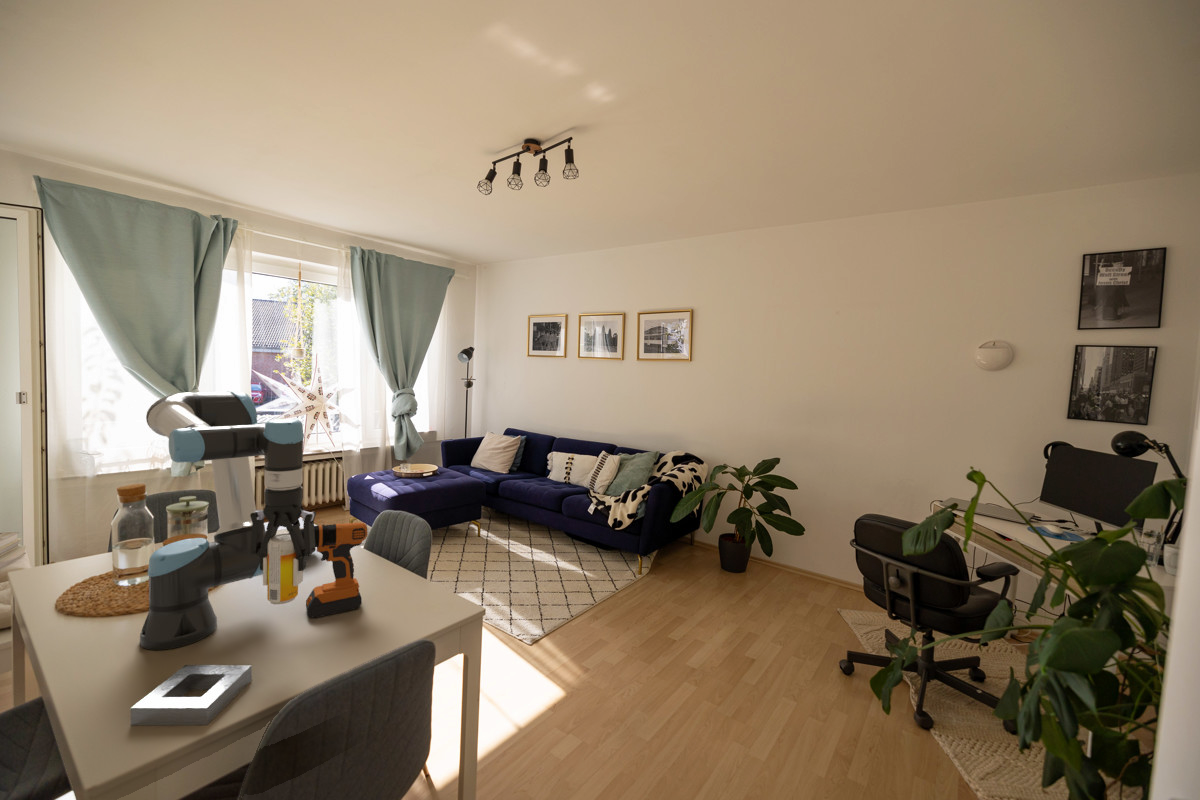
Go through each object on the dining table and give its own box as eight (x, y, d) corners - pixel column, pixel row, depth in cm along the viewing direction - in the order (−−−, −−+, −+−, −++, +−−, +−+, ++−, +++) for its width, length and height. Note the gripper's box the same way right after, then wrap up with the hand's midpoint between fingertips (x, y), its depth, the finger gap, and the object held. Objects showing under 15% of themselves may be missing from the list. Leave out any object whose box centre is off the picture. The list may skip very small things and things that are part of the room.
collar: (130, 725, 97) (130, 708, 97) (185, 680, 111) (185, 665, 111) (206, 724, 98) (206, 707, 98) (251, 680, 112) (251, 665, 112)
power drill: (280, 625, 135) (280, 534, 134) (280, 614, 141) (280, 526, 140) (368, 607, 147) (369, 524, 145) (364, 597, 153) (365, 517, 151)
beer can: (303, 593, 122) (303, 533, 121) (288, 606, 116) (288, 542, 115) (277, 593, 121) (277, 532, 120) (261, 605, 115) (261, 541, 114)
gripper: (230, 489, 112) (230, 589, 114) (318, 491, 114) (317, 591, 115) (251, 481, 120) (250, 575, 121) (333, 483, 121) (332, 577, 123)
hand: (283, 583), depth 118 cm, fingers closed on beer can, 6 cm apart
